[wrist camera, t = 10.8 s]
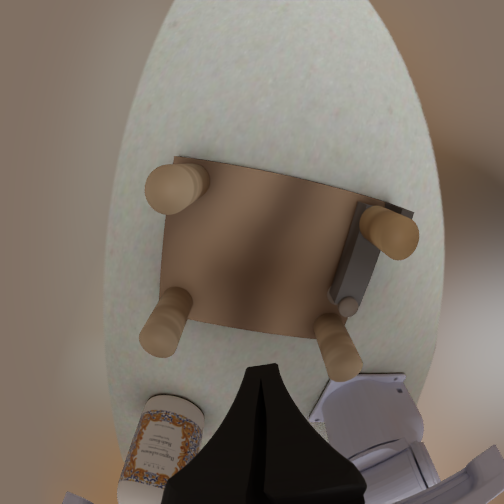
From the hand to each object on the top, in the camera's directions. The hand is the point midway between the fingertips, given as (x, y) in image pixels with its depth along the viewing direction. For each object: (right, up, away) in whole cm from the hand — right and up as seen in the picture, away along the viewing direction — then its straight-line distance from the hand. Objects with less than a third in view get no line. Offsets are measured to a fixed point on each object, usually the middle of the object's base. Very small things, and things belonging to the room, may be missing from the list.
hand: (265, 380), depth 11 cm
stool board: (+1, +5, +9) cm, 10 cm away
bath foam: (-9, -12, +15) cm, 21 cm away
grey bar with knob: (+7, +6, +7) cm, 11 cm away
